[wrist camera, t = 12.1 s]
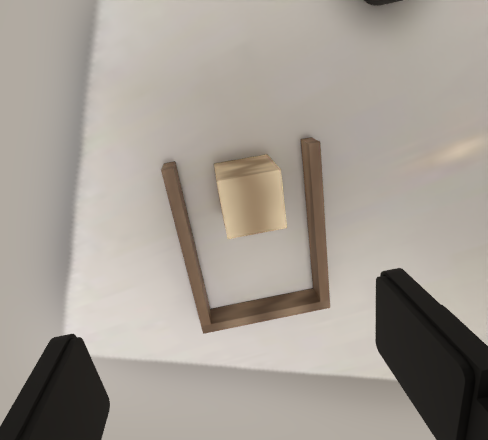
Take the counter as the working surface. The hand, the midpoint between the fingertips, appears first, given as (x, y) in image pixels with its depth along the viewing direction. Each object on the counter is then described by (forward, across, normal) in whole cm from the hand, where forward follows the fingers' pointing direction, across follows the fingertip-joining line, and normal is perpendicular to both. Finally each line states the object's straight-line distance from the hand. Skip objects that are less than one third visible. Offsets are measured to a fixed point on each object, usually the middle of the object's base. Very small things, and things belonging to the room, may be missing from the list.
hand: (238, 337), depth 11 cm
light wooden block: (+28, -3, +4) cm, 29 cm away
